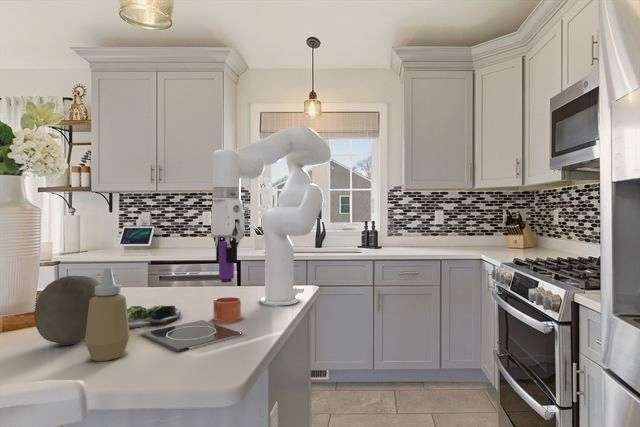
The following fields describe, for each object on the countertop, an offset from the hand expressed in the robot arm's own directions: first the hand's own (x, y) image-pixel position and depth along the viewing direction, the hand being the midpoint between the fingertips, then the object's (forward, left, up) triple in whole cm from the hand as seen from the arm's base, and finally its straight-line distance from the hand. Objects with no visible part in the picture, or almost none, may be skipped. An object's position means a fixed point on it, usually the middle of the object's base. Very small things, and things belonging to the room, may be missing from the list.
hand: (226, 261), depth 109 cm
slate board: (+14, +6, -16) cm, 22 cm away
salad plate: (+15, -15, -16) cm, 27 cm away
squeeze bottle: (+33, +7, -16) cm, 37 cm away
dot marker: (0, 0, -6) cm, 6 cm away
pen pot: (0, 0, -16) cm, 16 cm away
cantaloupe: (+35, -9, -16) cm, 39 cm away
